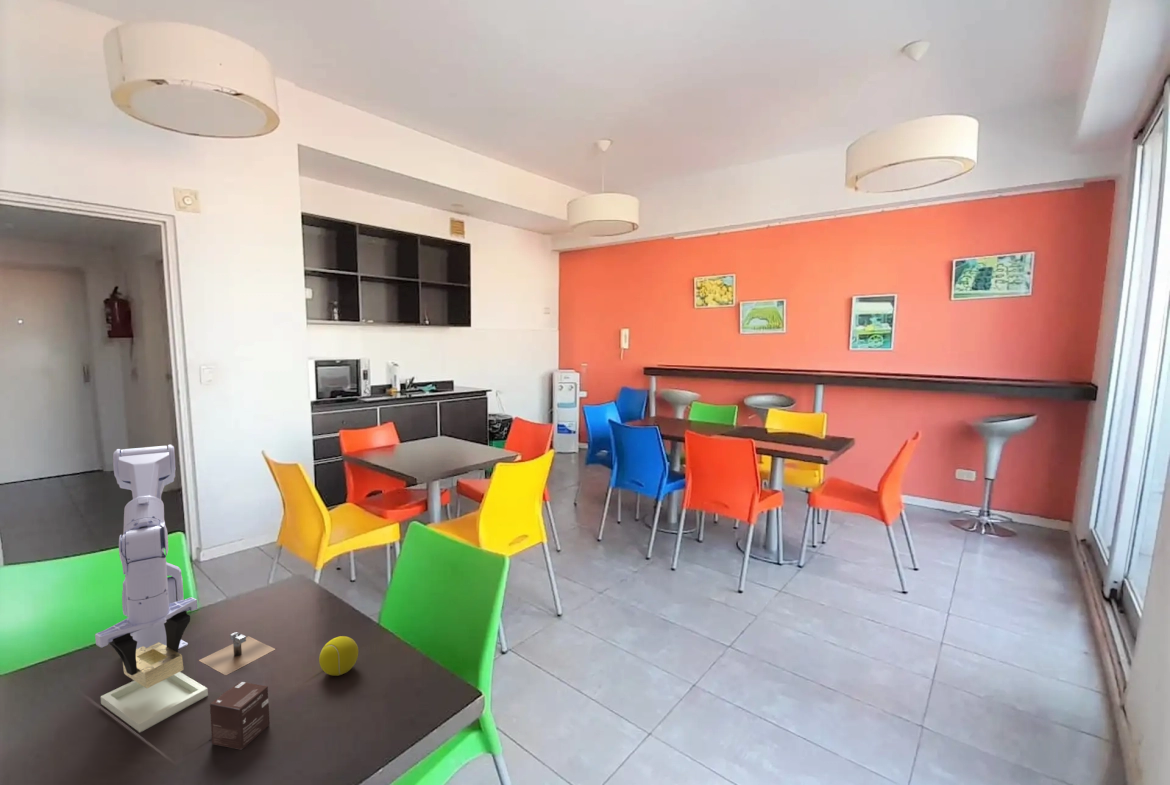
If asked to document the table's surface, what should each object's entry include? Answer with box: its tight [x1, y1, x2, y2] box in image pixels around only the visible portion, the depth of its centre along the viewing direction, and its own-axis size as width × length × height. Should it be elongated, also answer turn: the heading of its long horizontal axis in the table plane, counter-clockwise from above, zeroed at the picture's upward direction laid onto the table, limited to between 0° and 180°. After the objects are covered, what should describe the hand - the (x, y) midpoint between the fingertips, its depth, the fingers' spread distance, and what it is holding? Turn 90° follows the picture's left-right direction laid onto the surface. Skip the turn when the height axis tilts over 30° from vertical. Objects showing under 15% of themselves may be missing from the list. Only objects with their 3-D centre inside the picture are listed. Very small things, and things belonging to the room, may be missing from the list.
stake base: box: [198, 635, 276, 677], centre depth 108 cm, size 10×10×1 cm
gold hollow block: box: [122, 642, 184, 688], centre depth 94 cm, size 6×10×3 cm, turn 63°
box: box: [209, 681, 271, 750], centre depth 87 cm, size 6×6×7 cm
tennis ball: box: [318, 635, 359, 677], centre depth 104 cm, size 7×7×7 cm
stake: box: [229, 631, 247, 657], centre depth 108 cm, size 4×1×4 cm, turn 63°
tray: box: [100, 671, 209, 734], centre depth 95 cm, size 14×10×2 cm
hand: (152, 663), depth 94 cm, fingers closed on gold hollow block, 6 cm apart
